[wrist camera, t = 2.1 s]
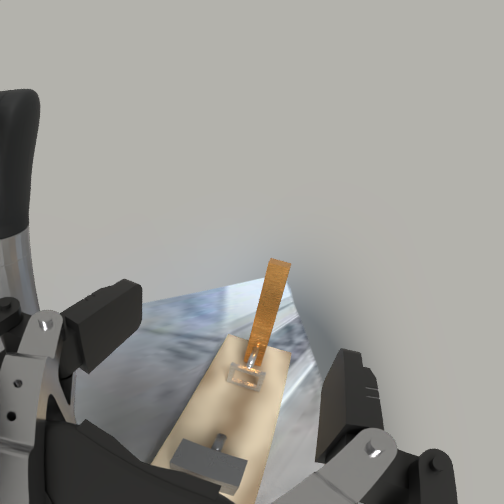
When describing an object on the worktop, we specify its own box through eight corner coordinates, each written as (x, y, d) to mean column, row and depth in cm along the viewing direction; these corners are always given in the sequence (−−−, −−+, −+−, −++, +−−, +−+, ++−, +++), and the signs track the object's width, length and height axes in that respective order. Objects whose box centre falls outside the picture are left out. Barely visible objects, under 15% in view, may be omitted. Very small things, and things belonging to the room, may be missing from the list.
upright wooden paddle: (226, 381, 31) (250, 275, 26) (246, 337, 40) (269, 247, 35) (259, 392, 30) (293, 288, 25) (273, 345, 40) (300, 255, 35)
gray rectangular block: (170, 473, 18) (169, 462, 17) (191, 434, 23) (193, 419, 22) (233, 495, 17) (239, 486, 16) (248, 453, 22) (254, 439, 21)
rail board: (146, 481, 17) (143, 475, 16) (226, 343, 41) (228, 334, 41) (246, 518, 16) (251, 514, 15) (287, 362, 40) (291, 352, 39)
